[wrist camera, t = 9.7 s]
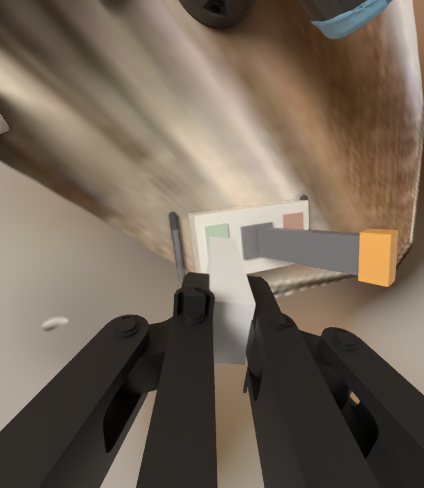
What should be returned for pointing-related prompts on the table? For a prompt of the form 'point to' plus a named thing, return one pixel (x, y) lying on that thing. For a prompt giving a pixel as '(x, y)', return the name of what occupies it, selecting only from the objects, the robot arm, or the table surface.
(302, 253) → the lever
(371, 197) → the table surface
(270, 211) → the breaker housing
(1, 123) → the juice carton
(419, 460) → the robot arm
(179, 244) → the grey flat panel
